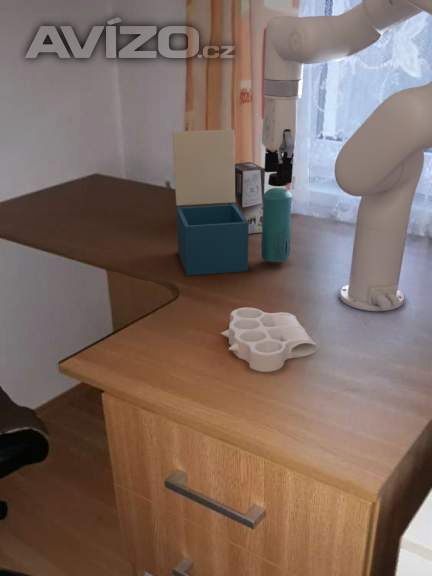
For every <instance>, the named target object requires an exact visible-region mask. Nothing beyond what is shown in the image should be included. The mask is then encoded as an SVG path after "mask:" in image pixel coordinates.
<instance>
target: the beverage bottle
mask: <svg viewBox="0 0 432 576" xmlns="http://www.w3.org/2000/svg"><path fill="white" fill-rule="evenodd" d="M276 174H277V172H271V173H269V175H268V181H267V184H268V185H269V186H270V187H271V186H272V188H269V189H267V190H266V191H265V192H264V195H263V220H262V221H263V223H262V232H261V238H260V239H261V246H260V247H261V251H260V252H261V253H260V254H261V258H262V259H263V260H264V261H267V262H270V263H280V262H285V261H287V260H288V259H289V257H290V254H291V253H290V252H291V237H292V236H291V234H292V233H291V230H292V226H291V225H292V224H291V223H292V198H293V195H292V193H291V192H290V191H289V190H288V189H286V188H283V187H285V186H287V185H288V184H277V183H276Z"/></svg>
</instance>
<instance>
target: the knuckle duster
mask: <svg viewBox="0 0 432 576" xmlns="http://www.w3.org/2000/svg"><path fill="white" fill-rule="evenodd" d="M228 324H229V325H228V329H226V330H224V331H222V332H220V333H219V334H220V335H222V336H224V337H226V338H227V339H228V344H229V345H230V346H229V348H228V349H227V350H228V351H231V352H232V353H233V354H234V355H235V356H236V357H237V358H239V359H240V360H243V361H245V362H247V363H248V365H249V368H250V369H251V370H253V371H256V372H261V373H273V372H276V371H279V370H280V369H282V368H283V366H284V365H285V362H286V361H288V360H290V359H299V358H303V357H308V356H310V355H312V354H314V353H315V352H316V351H317V343H316V342H315V341H313V340H312V338H311V337H310V336H309V334H308V333H307V332H306V331H307V330H306V329H305V328H304V327H303V326H302V325H301V323H300V322H299V321H298V320H297V316H296V315H294V314H292V313H289V312H281V311H279V312H267V311H263V310H261V309H259V308H255V307H239V308H236V309H234V310H232V311H230V314H229V323H228Z"/></svg>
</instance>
